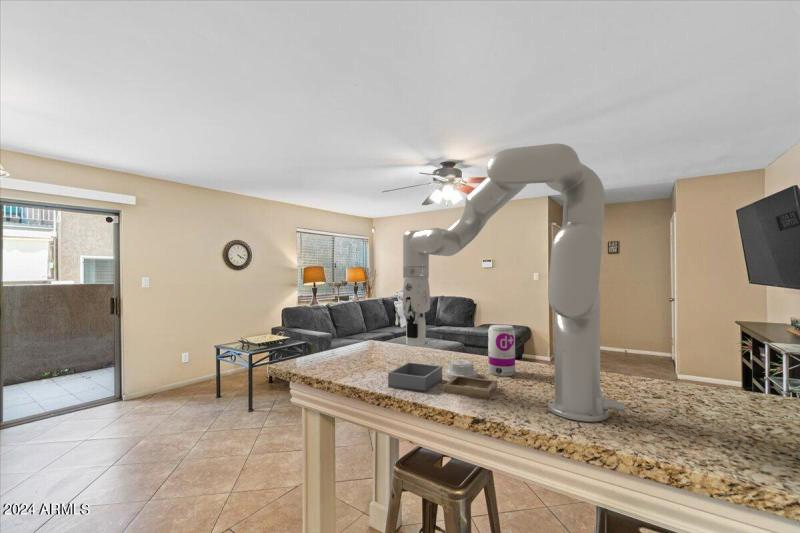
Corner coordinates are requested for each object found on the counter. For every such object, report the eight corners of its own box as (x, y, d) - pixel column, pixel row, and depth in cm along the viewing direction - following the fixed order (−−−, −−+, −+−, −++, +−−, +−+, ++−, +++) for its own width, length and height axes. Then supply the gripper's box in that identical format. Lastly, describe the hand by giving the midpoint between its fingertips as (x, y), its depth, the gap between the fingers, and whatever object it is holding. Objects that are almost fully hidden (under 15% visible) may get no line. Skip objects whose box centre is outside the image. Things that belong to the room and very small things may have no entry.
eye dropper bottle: (410, 343, 109) (411, 302, 109) (427, 345, 106) (427, 303, 106) (403, 345, 105) (403, 304, 105) (421, 347, 102) (421, 304, 102)
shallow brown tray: (497, 388, 101) (497, 380, 101) (489, 399, 92) (489, 391, 92) (455, 382, 106) (455, 375, 106) (444, 392, 97) (444, 384, 97)
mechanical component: (439, 376, 113) (467, 382, 106) (438, 362, 113) (467, 367, 106) (455, 370, 120) (483, 375, 114) (455, 356, 120) (483, 361, 114)
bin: (442, 379, 108) (442, 366, 109) (425, 392, 97) (425, 377, 97) (408, 375, 114) (408, 362, 114) (388, 386, 102) (388, 372, 102)
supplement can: (518, 376, 112) (518, 327, 112) (491, 376, 112) (491, 327, 112) (510, 369, 120) (510, 324, 120) (485, 369, 120) (485, 324, 120)
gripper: (415, 273, 97) (415, 342, 96) (438, 273, 112) (438, 333, 111) (390, 273, 100) (390, 340, 100) (416, 273, 115) (415, 331, 115)
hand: (415, 335), depth 105 cm, fingers closed on eye dropper bottle, 4 cm apart
